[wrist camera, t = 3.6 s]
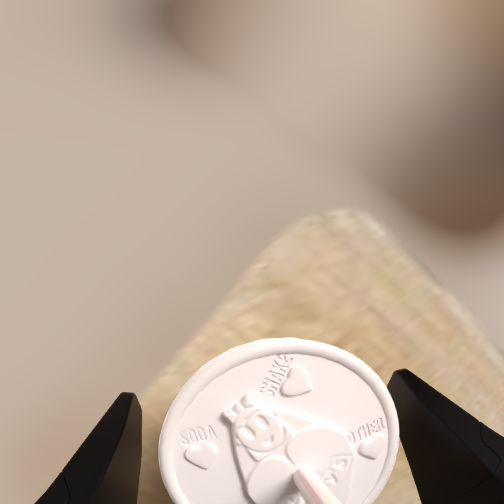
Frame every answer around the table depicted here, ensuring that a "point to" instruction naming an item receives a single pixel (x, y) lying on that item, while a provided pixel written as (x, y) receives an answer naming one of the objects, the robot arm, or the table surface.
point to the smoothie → (280, 428)
